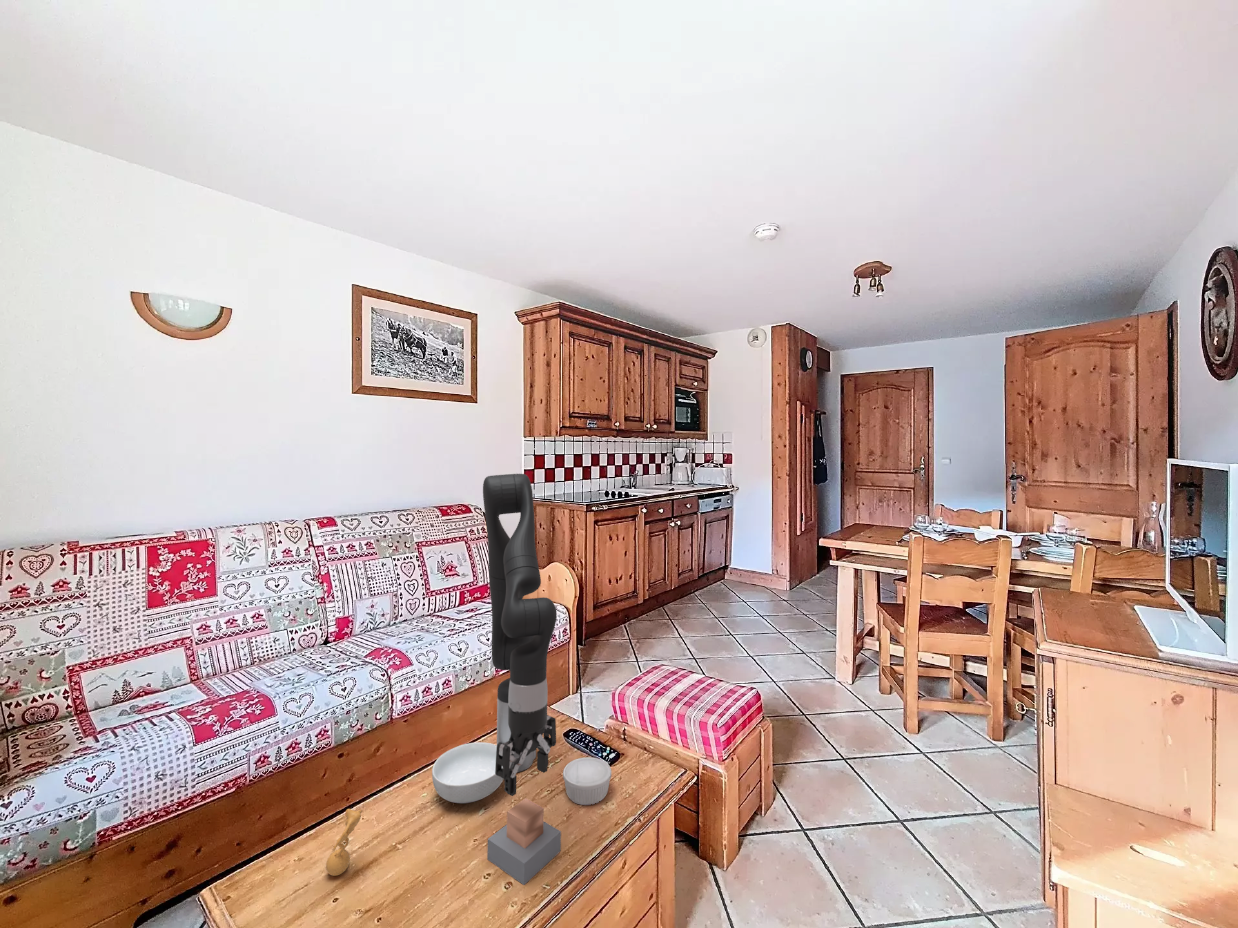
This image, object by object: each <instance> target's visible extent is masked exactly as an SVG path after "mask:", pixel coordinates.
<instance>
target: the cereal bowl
mask: <svg viewBox="0 0 1238 928" xmlns="http://www.w3.org/2000/svg"><path fill="white" fill-rule="evenodd" d="M496 749H497V744H495V743H490V742H484V741H483V742H481V741H480V742H479V741H478V742H477V741H476V742H469V743H465V744H461V745H458V746H455V747H453V748H450V749H448V750H447V751H445V752H444V753H442V754H441V755H440V756H439V757H438V758H437V759H436V761H435V762H434V764H433V766H432V769H431V778H432V779H431V780H432V783H433V786H434V789H435V791H436V794H438V796H439V797H440V798H442V799H444V800H445V801H448V802H451V803H456V804H469V803H473V802H477V801H479V800H482V799H484V798H486V797H488V796H489V795H491V794H493V793H494V792H495V791H496V790H497V789H498V788H500V786H501V784H502V783H503V781H504V779H503V778H501V777H499V776H497V775H496V774H495V767H496ZM502 768H503V766H502Z"/></svg>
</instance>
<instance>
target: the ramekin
mask: <svg viewBox="0 0 1238 928" xmlns="http://www.w3.org/2000/svg"><path fill="white" fill-rule="evenodd" d="M611 778H612V769H611V766H610V765H609V764H608V763H607V761H605V760H603V759H600V758H597V757H589V756H588V757H579V758H576V759H573V760H571V761H570V762H568V763H567V764H566V765H565V766H564V767H563V770H562V779H563V780H564V786H565V790H566V791H565V793H566V795H567V797H568V798H569V800H570V801H572V802H573V803H574V804H578V805H582V806H591V804H592V805H595V803H596V804H598V803H600V802H601V801H603V800H604V798H605V797H606V796H607V794H608V792H609V787H610V786H609V785H610V782H611V781H610V780H611ZM599 801H600V802H599Z"/></svg>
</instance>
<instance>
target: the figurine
mask: <svg viewBox="0 0 1238 928" xmlns="http://www.w3.org/2000/svg"><path fill="white" fill-rule="evenodd" d="M362 812H363V809H359V810H353V809H351V808H347V809H346V810H345V813H344V815H345V816H346V819H345V821H344V822H345V828H344V831H343V832H342V833H341V835H340V837H339V838H338V839H337V840H336V843H335V845H334V846H333V848H332V849H331V853H330V854H329V856H328V858H327V860H326V863H325V870H326V872H327V874H329V875H331V876H334V877H335V876H339V875H342V874H343V873H344V872H345V871H346V870H347V869H348V867H349V865H350V863H351V854H350V852H349V851H348V850H347V849H346V848H347V846H348V845H349V841H350V839H349V835H351V833H353V831H354V830H355V828H356V826H357V825H359V822H360V821H361V819H362ZM343 842H345V844H344V843H343ZM338 847H339V848H338ZM336 848H338V849H336Z"/></svg>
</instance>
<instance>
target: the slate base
mask: <svg viewBox="0 0 1238 928" xmlns="http://www.w3.org/2000/svg"><path fill="white" fill-rule="evenodd" d="M561 845H562V831H561V830H559V829H558V828H556V827H554V826H553V825H551V824H549V823H548V822H546V821H544V820H543V834H541V835H540V836H539V837H538V838H537V839H536V840H534V841H533V842H532V843H531V844H530V845H529V846H527V847H526V848H523V847H522V846H520V845H519V844H517V843H515V842H514V841H512V840H511V839H509V838H508V837H507V824H505V825H504V826H503V827H501V828H500V829H499V830H498V831H496V832H495V833H493V834H492V835H491V836H490V837H488V838H487V854H486V855H487V858H486V859H487V861H489V862H490V863H492V864H493V865H495V866H496V867H497V868H499V869H500V870H502V871H503V872H504V873H506V874H507V875H509V876H510V877H512V878H513V879H515V881H518V882H519V883H520V884H522V885H523V886H525V885H526V884H527V883H528V882H529V881H530V880H531V879H533V877H534V876H536V874H538V873H539V872H540V871H541V870H542V869H544V867H545V866H546V865H547V864H549V863H550V862H551V861H552V860H553V859H554V858H555V857H556V856H557V855H558V854H559V853H560V852H561V851H562V850H561V849H562V848H561Z"/></svg>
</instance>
